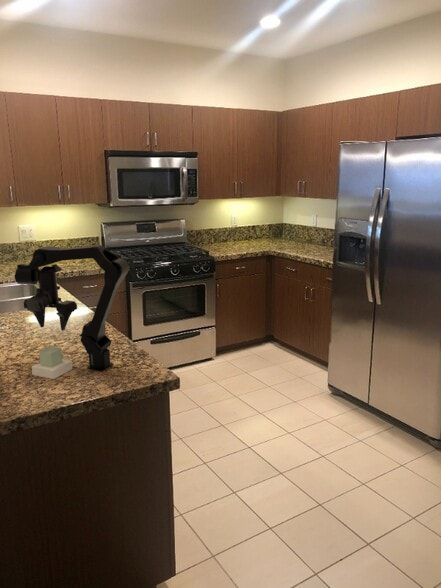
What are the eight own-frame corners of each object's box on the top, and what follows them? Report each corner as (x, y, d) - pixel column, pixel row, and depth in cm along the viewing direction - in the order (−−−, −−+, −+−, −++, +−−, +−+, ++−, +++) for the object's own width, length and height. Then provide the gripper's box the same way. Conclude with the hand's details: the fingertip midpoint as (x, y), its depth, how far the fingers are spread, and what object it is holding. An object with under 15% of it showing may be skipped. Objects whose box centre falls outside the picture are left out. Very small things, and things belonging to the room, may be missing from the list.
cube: (62, 362, 159) (61, 348, 158) (52, 367, 155) (50, 353, 154) (51, 360, 161) (50, 346, 160) (40, 365, 157) (39, 351, 156)
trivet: (72, 369, 161) (71, 360, 160) (53, 379, 153) (52, 370, 152) (51, 365, 165) (51, 357, 164) (32, 375, 157) (31, 366, 156)
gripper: (8, 287, 155) (13, 332, 159) (52, 292, 148) (57, 339, 152) (33, 280, 165) (38, 323, 169) (76, 284, 158) (80, 329, 162)
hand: (52, 328), depth 163 cm, fingers open, 9 cm apart
